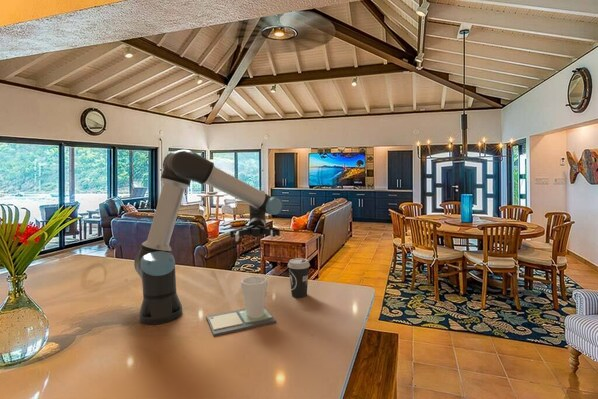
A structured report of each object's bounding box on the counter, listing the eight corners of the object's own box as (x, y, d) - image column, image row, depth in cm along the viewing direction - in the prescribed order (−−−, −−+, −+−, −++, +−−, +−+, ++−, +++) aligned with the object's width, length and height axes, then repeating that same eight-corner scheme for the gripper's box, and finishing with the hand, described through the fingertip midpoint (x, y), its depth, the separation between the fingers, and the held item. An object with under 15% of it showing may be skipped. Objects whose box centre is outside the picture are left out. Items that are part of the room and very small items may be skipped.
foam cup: (240, 311, 130) (239, 277, 129) (264, 307, 133) (263, 274, 132) (245, 321, 121) (244, 286, 120) (270, 317, 124) (269, 282, 123)
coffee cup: (301, 301, 142) (300, 265, 140) (283, 296, 147) (282, 261, 146) (314, 293, 149) (314, 260, 148) (297, 289, 155) (296, 256, 153)
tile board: (213, 336, 114) (213, 332, 114) (206, 318, 127) (206, 315, 127) (276, 322, 123) (276, 319, 123) (263, 307, 136) (262, 304, 136)
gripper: (284, 234, 156) (286, 245, 135) (229, 236, 155) (222, 248, 134) (284, 218, 156) (285, 226, 135) (228, 219, 154) (221, 228, 133)
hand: (254, 237), depth 134 cm, fingers open, 13 cm apart
